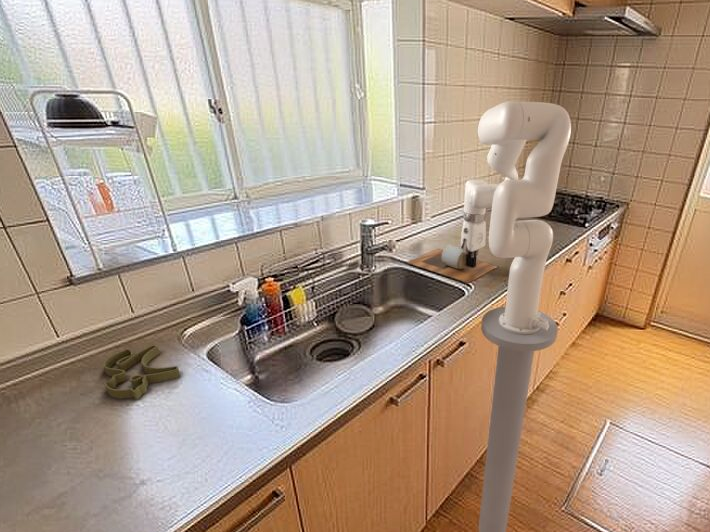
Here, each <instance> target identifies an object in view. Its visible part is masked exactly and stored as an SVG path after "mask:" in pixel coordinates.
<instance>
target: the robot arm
mask: <svg viewBox="0 0 710 532" xmlns="http://www.w3.org/2000/svg"><path fill="white" fill-rule="evenodd" d="M571 134H572V121H571V117H570V115H569V113H568V111H567V110H566V108H565V107H563V106H561V105H560V104H557V103H553V102H552V103H551V102H543V101H541V102H540V101H523V100H522V101H519V100H507V101H504V102H501V103H499V104H497V105H494V106H493V107H491V108H489V109H487V110H486V111H485V112H484V113H482V115H481V117H480V119H479V122H478V126H477V136H478V139H479V141H480V143H482V144H483V145H487V146H488V145H489V146H490V148H489V150H488V151H489V152H488V153H487V157H486V161H487V164H488V166H489V167H490V168H491V169H492V170H493V171H495V172H496V173H498V174H500V175H502V176H504V177H505V178H504V180H503V181H501V182H500V183H487V182H486V181H485V180H482V179H469V180H467V181H466V182H465V185H464V200H463V201H464V203H463V219H462V221H463V222H462V227H461V235H460V249H463V254H465V255H466V256H467V262H466V266H468V267H471V268H474V267H476V260H477V256H478V254H479V250H480V249H482V248H484V247H485V246H486V243H487V223H486V211H487V209H491V212H490V221H489V230H488V248H489V251H490V253H491V254H492V255H493V256H494V257H495V258H498V259H511V258H513V260H512V262H511V264H510V267H509V272H508V281H507V289H506V290H507V291H506V298H505V306H506V307H505V306H504V307H505V313H503V314H502V315H500V317H499V324H500V326H501V327H502V328H503V329H505V330H507V331H509V332H512V333H516V334H531V333H535V332H537V331H538V330H539V329H540V328H541V329H544V330H548V328H549V324H548V320H546V319H542V318H541V317H540V314H541V312H542V311H540V312H538V311H539V306H540V299H541V292H542V286H543V280H544V274H545V270H546V264H547V260H548V256H549V254H550V251H551V248H552V245H553V242H554V231H553V229H552V227H551V225H550V224H548V223H547V222H546V221H544V220H539V219H529V218H538V217H544V216H547V215H548V214H550V213H551V212H552V210H553V207H554V204H555V200H556V193H557V188H558V184H559V183H558V182H559V177H560V171H561V166H562V162H563V159H564V156H565V153H566V151H567V148H568V146H569V141H570V140H571V139H570V138H571ZM529 140H530V141H532V140H538V141H539V142H538V143H537V144H536V145H535V146H534V148H532V150H531V152H530V153H529V155H528V157H527V159H526V163H525V169H524V175H523V177H522V178H519V174H518V170H517V168H516V164H517V162H518V161H519V157H520V156H521V154H522V151H523V150H524V147H525V145H526V143H527V141H529ZM527 218H528V219H527ZM517 219H521V220H517ZM522 219H523V220H522Z"/></svg>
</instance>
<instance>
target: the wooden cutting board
mask: <svg viewBox="0 0 710 532" xmlns="http://www.w3.org/2000/svg"><path fill="white" fill-rule="evenodd" d="M443 250H444V249H440V248H438V249H436V250H433V251H430V252H429V253H426V254H423V255H421V256H418V257H416V258H413V259H411V260H409V261H406V264H409V265H412V266H415V267H418V268H421V269H424V270H428V271H430V272H434V273H437V274H439V275H443V276H446V277H449V278H452V279H455V280H458V281H461V282H464V283H467V284H470V283H472V282H473V281H475V280H477V279H479V278H480V277H482V276H484V275H486V274H487V273H489V272H491V271H493V270H494V269H496V268H498V265H495V264H493V263H488V262H485V261H481V260H477V259H476V267H474V268H471V267H468V266H466V267H465V268H464V269H457V268H454V267H451V266H448V265H445V264H444V263H443V262H442V253H443Z"/></svg>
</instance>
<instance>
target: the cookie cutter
mask: <svg viewBox="0 0 710 532" xmlns="http://www.w3.org/2000/svg"><path fill="white" fill-rule="evenodd" d="M158 355H161V352H160V350H159V346H158V345H156V344H152V345H149V346H147V347H145V348H142V349H141V350H139V351H137V352H136V353H134V352H133V350H132V349H130V348H126V349H123V350H120V351H118V352H116V353H114V354H112V355H110V356H109V357H106V359H105V360H104V361H103V363H102V366H103V368H104V372H105V373H106V375H107V376H110V377H111V379H109V380H107V381H103V384H104V387H105V389H106V391H107V393H108V394H109V396H111V397H112V398H114V399H131V398H133V399H135V400H139V399H140V398H141V397H142V395H144V394H146V393H147V392H148V386H149V384H152V383H159V382H165V381H170V380H173V379H177V378H181V373H180V369H179V366H178V365H174V366H166V367H153V366H148V364H149V362H151V360H152V359H154V358H156V357H157V356H158ZM140 362H141V365H142V368H143V371H144V373H146V374H136V375H132V376H131V377H130V378H129V381H130V384H131V386H132V387H131V388H125V389H116V387H117V386H118V384H120V383H124V382H126V381H128V376H127V374H126V373H127V372H126V371H128V370H129V369H130V368H132V367H133V366H135V365H136V364H137V363H140ZM115 364H116V366H117V368H112V367H113V366H114V365H115Z"/></svg>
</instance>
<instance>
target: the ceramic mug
mask: <svg viewBox="0 0 710 532" xmlns="http://www.w3.org/2000/svg"><path fill="white" fill-rule="evenodd" d="M442 250H443V253H442V262H443V263H444V264H445V265H448V266H451V267H454V268H457V269H464V268H465V267H466V262H467V256H466V255H465V254H463V249H461V247H459V246H456V245H453V244H448V245H446V246H445V247H444V248H443V249H442Z"/></svg>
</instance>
